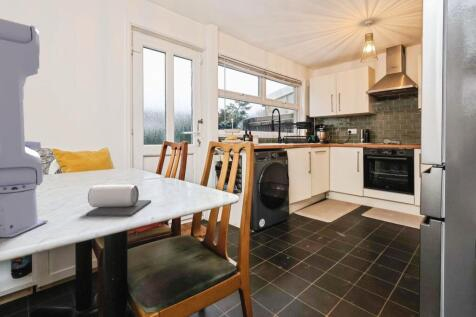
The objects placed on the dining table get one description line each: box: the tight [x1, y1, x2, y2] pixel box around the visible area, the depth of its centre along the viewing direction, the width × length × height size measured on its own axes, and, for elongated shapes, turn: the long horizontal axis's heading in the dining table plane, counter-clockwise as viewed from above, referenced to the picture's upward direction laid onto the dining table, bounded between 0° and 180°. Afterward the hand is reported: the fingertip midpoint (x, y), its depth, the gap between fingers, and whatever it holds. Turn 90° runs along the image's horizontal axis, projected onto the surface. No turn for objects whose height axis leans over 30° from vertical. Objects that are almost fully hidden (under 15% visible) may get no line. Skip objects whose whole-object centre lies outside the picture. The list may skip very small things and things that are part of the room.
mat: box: [86, 199, 152, 217], centre depth 70 cm, size 14×12×1 cm
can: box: [87, 183, 140, 208], centre depth 70 cm, size 6×6×12 cm
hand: (12, 175), depth 64 cm, fingers closed
